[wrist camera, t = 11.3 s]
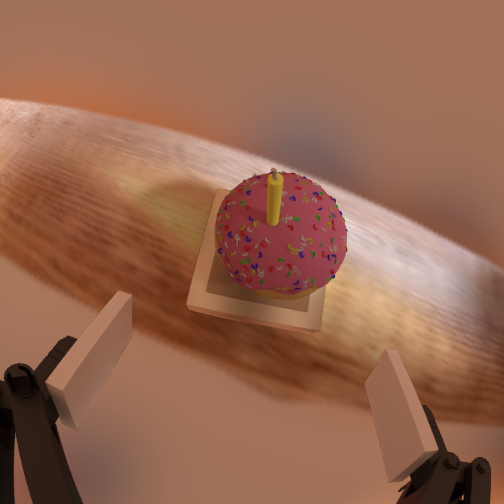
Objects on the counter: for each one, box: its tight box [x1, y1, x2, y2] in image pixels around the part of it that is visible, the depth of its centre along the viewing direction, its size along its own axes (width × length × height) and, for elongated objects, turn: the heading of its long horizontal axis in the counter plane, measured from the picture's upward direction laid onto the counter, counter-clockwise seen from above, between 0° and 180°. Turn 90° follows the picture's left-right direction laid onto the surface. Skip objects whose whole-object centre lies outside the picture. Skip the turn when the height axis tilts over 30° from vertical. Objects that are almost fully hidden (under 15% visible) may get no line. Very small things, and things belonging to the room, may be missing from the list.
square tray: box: [186, 189, 326, 334], centre depth 24 cm, size 10×10×3 cm
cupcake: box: [214, 168, 348, 300], centre depth 18 cm, size 9×8×12 cm
